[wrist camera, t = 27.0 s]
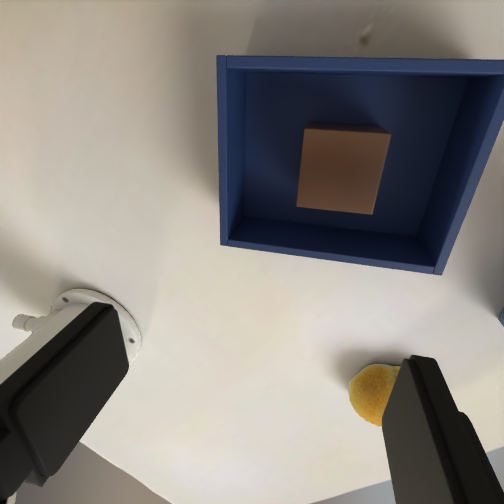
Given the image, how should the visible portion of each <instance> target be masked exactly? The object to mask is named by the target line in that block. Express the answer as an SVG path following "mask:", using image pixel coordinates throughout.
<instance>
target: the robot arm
mask: <svg viewBox="0 0 504 504" xmlns="http://www.w3.org/2000/svg"><path fill="white" fill-rule="evenodd" d="M12 325H13V328H15V329H18V330H23V331H31V332H32V334H31V335H30V336H29V337H28V338H27V339H26V340H24V341H23V342H22V343H21V344H19V345H18V346H17V347H16V348H15V349H13V350H12V351H11V352H10V353H8V354H7V355H6V356H5V357H3V358H2V359H1V360H0V504H15V499H16V492H17V489H18V488H19V487H20V486H21V484H22V483H23V481H25V482H26V483H30V484H33V485H37V486H40V487H42V486H43V484H44V483H45V482H46V480H47V479H48V477H49V476H52V475H54V474H55V473H56V472H57V471H58V470H59V469H60V467H61V466H62V464H63V463H64V462H65V460H66V459H67V457H68V456H69V455H70V453H71V452H72V450H73V449H74V448H75V446H76V445H77V443H78V442H79V440H80V439H81V438H82V436H83V435H84V433H85V432H86V431H87V429H88V428H89V426H90V425H91V423H92V422H93V421H94V419H95V418H96V416H97V415H98V414H99V412H100V411H101V409H102V408H103V407H104V405H105V404H106V402H107V401H108V399H109V398H110V397H111V395H112V394H113V392H114V391H115V390H116V388H117V387H118V385H119V384H120V382H121V381H122V380H123V378H124V377H125V375H126V374H127V372H128V369H129V363H131V362H132V361H133V360H134V359H135V357H136V356H137V355H138V353H139V351H140V349H141V335H140V332H139V329H138V327H137V325H136V323H135V322H134V320H133V319H132V317H131V316H130V315H129V313H128V312H127V311H126V310H125V309H124V308H123V307H122V306H120V305H119V304H118V303H116V302H115V301H114V300H112V299H110V298H109V297H107V296H105V295H103V294H101V293H98V292H96V291H92V290H88V289H71V290H68V291H65V292H64V293H62V294H61V295H60V296H58V297H57V298H56V299H55V300H54V302H53V304H52V306H51V313H50V314H49V315H48V316H41V317H39V318H36V317H34V316H29V315H24V314H20V315H17V316H16V317H15V318H14V320H13V323H12ZM382 430H383V436H384V441H385V447H386V452H387V457H388V463H389V468H390V474H391V479H392V484H393V490H394V495H395V501H396V504H504V492H503V490H502V488H501V486H500V483H499V481H498V479H497V477H496V475H495V473H494V470H493V468H492V466H491V464H490V462H489V460H488V457H487V456H486V453H485V451H484V449H483V447H482V444H481V442H480V440H479V438H478V436H477V434H476V432H475V429H474V427H473V425H472V423H471V421H470V420H469V418H468V416H467V415H465V414H464V413H463V412H460V411H458V409H457V407H456V404H455V402H454V400H453V398H452V395H451V393H450V391H449V388H448V386H447V384H446V382H445V379H444V377H443V375H442V372H441V370H440V368H439V366H438V363H437V362H436V360H435V359H434V358H429V357H423V356H417V355H412V356H410V358H409V359H404V360H403V362H402V364H401V367H400V370H399V372H398V375H397V378H396V380H395V383H394V386H393V389H392V391H391V394H390V397H389V399H388V402H387V405H386V407H385V410H384V413H383V416H382Z"/></svg>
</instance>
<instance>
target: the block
mask: <svg viewBox="0 0 504 504" xmlns="http://www.w3.org/2000/svg"><path fill="white" fill-rule="evenodd" d="M390 139H391V133H390V132H388V131H387V130H385V129H384V128H382V127H381V126H379V125H369V124H350V123H332V122H313V121H310V122H309V123H308V125H307V126H306V127H305V129H304V136H303V145H302V155H301V164H300V174H299V183H298V192H297V202H296V206H297V207H305V208H314V209H324V210H333V211H343V212H352V213H361V214H373V210H374V206H375V202H376V197H377V193H378V189H379V185H380V181H381V176H382V172H383V168H384V164H385V160H386V155H387V151H388V147H389V143H390Z"/></svg>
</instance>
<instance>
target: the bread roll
mask: <svg viewBox="0 0 504 504" xmlns="http://www.w3.org/2000/svg"><path fill="white" fill-rule="evenodd" d="M400 367H401V366H390V365H387V364H371V365H368V366H366V367H365V368H363V369H362V370H361V371H360V372H359V373H358V374H356V375H355V376H354V377H353V378H352V380H351V381H350V383H349V398H350V402H351V404H352V406H353V408H354V410H355V411H356V412H357V414H358V415H359V416H360V417H362V418H363V419H365V420H366V421H368V422H370V423H372V424H374V425H377V426H382V416H383V413H384V410H385V407H386V405H387V402H388V399H389V397H390V394H391V391H392V389H393V386H394V383H395V380H396V378H397V375H398V372H399V370H400Z"/></svg>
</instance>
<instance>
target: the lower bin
mask: <svg viewBox="0 0 504 504" xmlns="http://www.w3.org/2000/svg"><path fill="white" fill-rule="evenodd" d="M217 106H218V154H219V202H220V245H223V246H230V247H237V248H244V249H252V250H259V251H266V252H274V253H281V254H288V255H295V256H303V257H310V258H317V259H325V260H332V261H339V262H347V263H354V264H361V265H369V266H376V267H383V268H391V269H398V270H405V271H412V272H420V273H427V274H434V275H442V273H443V270H444V268H445V265H446V263H447V260H448V258H449V255H450V253H451V250H452V248H453V245H454V243H455V240H456V238H457V235H458V233H459V230H460V228H461V225H462V223H463V220H464V218H465V215H466V213H467V210H468V208H469V205H470V203H471V200H472V198H473V195H474V193H475V190H476V188H477V185H478V183H479V180H480V178H481V175H482V173H483V170H484V168H485V165H486V163H487V160H488V158H489V155H490V153H491V150H492V147H493V145H494V142H495V140H496V137H497V135H498V132H499V130H500V127H501V125H502V122H503V120H504V60H482V59H420V58H357V57H295V56H233V55H227V56H226V55H217ZM310 121H313V122H332V123H350V124H369V125H379V126H381V127H382V128H384V129H385V130H387V131H388V132H390V133H391V139H390V143H389V147H388V151H387V155H386V160H385V164H384V168H383V172H382V176H381V181H380V185H379V189H378V193H377V197H376V202H375V206H374V210H373V214H361V213H352V212H343V211H333V210H324V209H314V208H305V207H297V206H296V202H297V192H298V183H299V174H300V164H301V155H302V145H303V136H304V129H305V127H306V126H307V125H308V123H309V122H310Z"/></svg>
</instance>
